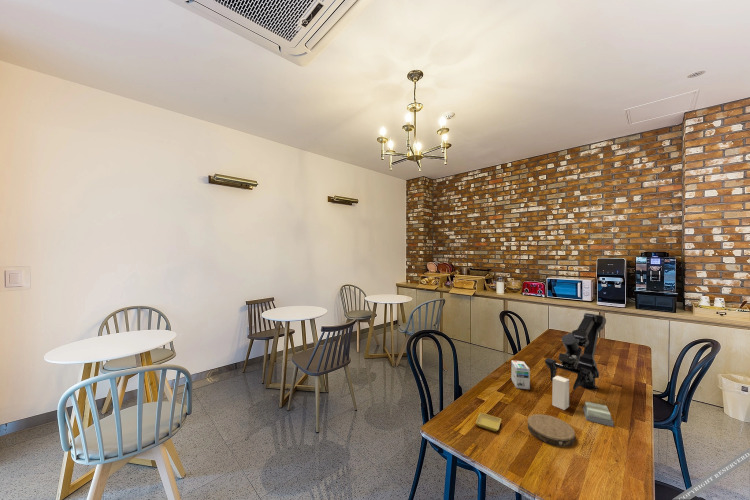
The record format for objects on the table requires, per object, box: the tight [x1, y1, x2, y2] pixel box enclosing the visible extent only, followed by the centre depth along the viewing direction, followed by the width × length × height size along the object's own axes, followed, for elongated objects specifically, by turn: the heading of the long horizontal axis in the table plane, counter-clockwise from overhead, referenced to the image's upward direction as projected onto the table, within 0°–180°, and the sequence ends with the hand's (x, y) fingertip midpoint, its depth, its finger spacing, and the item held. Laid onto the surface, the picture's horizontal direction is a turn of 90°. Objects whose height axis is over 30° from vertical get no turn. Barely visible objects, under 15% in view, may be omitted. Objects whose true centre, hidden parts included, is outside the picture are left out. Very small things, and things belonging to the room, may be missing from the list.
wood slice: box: [527, 413, 576, 448], centre depth 113 cm, size 16×16×3 cm
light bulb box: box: [510, 360, 531, 390], centre depth 154 cm, size 11×7×11 cm, turn 168°
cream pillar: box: [551, 375, 570, 411], centre depth 133 cm, size 5×5×12 cm
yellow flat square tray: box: [475, 412, 502, 432], centre depth 118 cm, size 9×9×2 cm
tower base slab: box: [583, 405, 615, 428], centre depth 123 cm, size 9×9×2 cm
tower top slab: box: [584, 401, 612, 421], centre depth 123 cm, size 8×8×2 cm
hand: (562, 384), depth 134 cm, fingers open, 9 cm apart
